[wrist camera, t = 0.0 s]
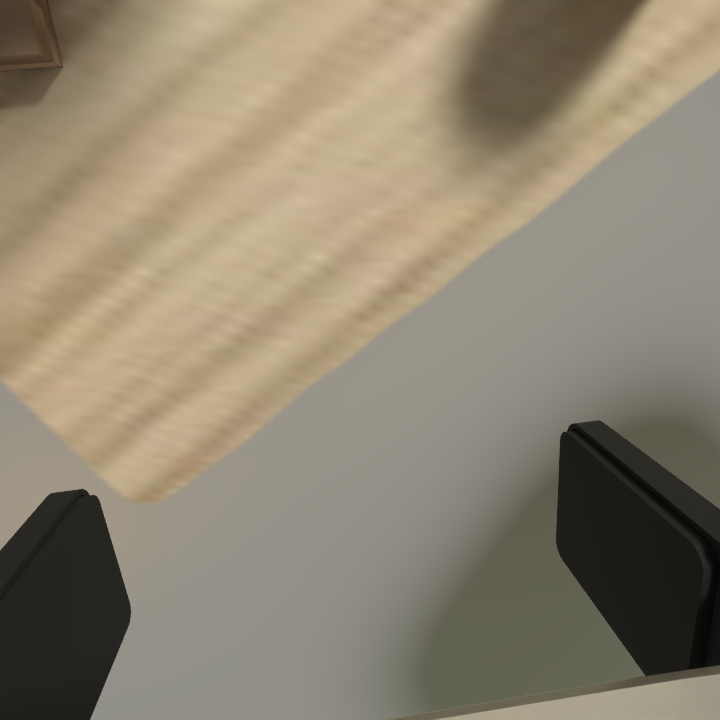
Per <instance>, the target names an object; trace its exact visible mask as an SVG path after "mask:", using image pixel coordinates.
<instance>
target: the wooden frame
mask: <svg viewBox="0 0 720 720" xmlns="http://www.w3.org/2000/svg"><path fill="white" fill-rule="evenodd" d="M53 67H63V64H62V60H61V56H60V52H59V48H58V44H57V40H56V36H55V32H54V28H53V24H52V19H51V15H50V11H49V7H48V3H47V0H0V71H11V70H25V69H39V68H53Z"/></svg>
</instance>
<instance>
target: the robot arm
mask: <svg viewBox="0 0 720 720" xmlns="http://www.w3.org/2000/svg"><path fill="white" fill-rule="evenodd" d="M558 483H559V484H558V506H557V507H558V508H557V531H556V532H557V533H556V543H557V548H558V552H559V554H560V556H561V558H562V560H563V561H564V563H565V564H566V565H567V567H568V568H569V570H570V571H571V572H572V574H573V575H574V577H575V578H576V579H577V581H578V582H579V583H580V585H581V586H582V588H583V589H584V590H585V592H586V593H587V595H588V596H589V597H590V599H591V600H592V602H593V603H594V604H595V606H596V607H597V609H598V610H599V611H600V613H601V614H602V616H603V617H604V618H605V620H606V621H607V623H608V624H609V625H610V627H611V628H612V629H613V631H614V632H615V634H616V635H617V637H618V638H619V639H620V641H621V642H622V643H623V645H624V646H625V648H626V649H627V650H628V652H629V653H630V655H631V656H632V657H633V659H634V660H635V662H636V663H637V664H638V666H639V667H640V668H641V670H642V671H643V673H644V674H645V676H643V677H637V678H631V679H625V680H619V681H613V682H607V683H601V684H595V685H589V686H583V687H577V688H571V689H565V690H559V691H553V692H547V693H541V694H535V695H529V696H523V697H517V698H511V699H506V700H499V701H493V702H487V703H481V704H475V705H469V706H463V707H457V708H452V709H446V710H440V711H435V712H428V713H422V714H417V715H411V716H405V717H399V718H393V719H388V720H720V509H719V508H717V507H716V506H714V505H713V504H712V503H710V502H709V501H708V500H707V499H705V498H704V497H702V496H701V495H700V494H698V493H697V492H696V491H694V490H693V489H692V488H690V487H689V486H688V485H686V484H685V483H684V482H682V481H681V480H679V479H678V478H677V477H676V476H674V475H673V474H671V473H670V472H669V471H668V470H666V469H665V468H663V467H662V466H661V465H660V464H658V463H657V462H655V461H654V460H653V459H652V458H650V457H649V456H647V455H646V454H645V453H643V452H642V451H641V450H640V449H638V448H637V447H635V446H634V445H633V444H631V443H630V442H629V441H627V440H626V439H625V438H623V437H622V436H621V435H619V434H618V433H617V432H615V431H614V430H613V429H611V428H610V427H609V426H607V425H606V424H604V423H603V422H601V421H591V422H583V423H575V424H571V425H570V426H569V428H568V431H567V432H563V433H562V435H561V439H560V459H559V482H558ZM130 617H131V607H130V602H129V599H128V595H127V592H126V588H125V585H124V582H123V579H122V575H121V572H120V568H119V565H118V561H117V558H116V555H115V551H114V548H113V545H112V541H111V538H110V535H109V531H108V528H107V524H106V521H105V518H104V514H103V511H102V508H101V504H100V501H99V499H98V498H97V496H95V495H91V496H90V495H89V493H88V492H87V491H86V490H84V489H79V490H72V491H64V492H56V493H51V494H50V495H48V496H47V497H46V498H45V500H44V501H43V502H42V503H41V504H40V506H38V508H37V509H36V510H35V511H34V512H33V513H32V515H31V516H30V517H29V518H28V519H27V521H26V522H25V523H24V524H23V525H22V526H21V527H20V528H19V530H18V531H17V532H16V533H15V534H14V536H13V537H12V538H11V539H10V540H9V541H8V542H7V544H6V545H5V546H4V547H3V548H2V549H1V551H0V720H90V718H91V716H92V713H93V711H94V709H95V706H96V704H97V701H98V699H99V696H100V694H101V692H102V689H103V687H104V684H105V682H106V679H107V677H108V674H109V672H110V670H111V667H112V665H113V662H114V660H115V658H116V655H117V653H118V650H119V648H120V645H121V643H122V641H123V638H124V635H125V633H126V631H127V628H128V626H129V623H130Z"/></svg>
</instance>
